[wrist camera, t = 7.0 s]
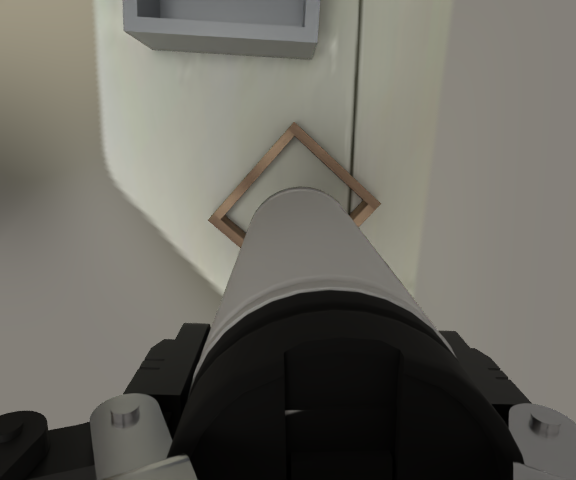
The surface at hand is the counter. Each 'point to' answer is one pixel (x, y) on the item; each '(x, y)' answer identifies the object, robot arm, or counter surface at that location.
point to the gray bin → (226, 26)
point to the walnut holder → (294, 130)
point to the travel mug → (330, 366)
